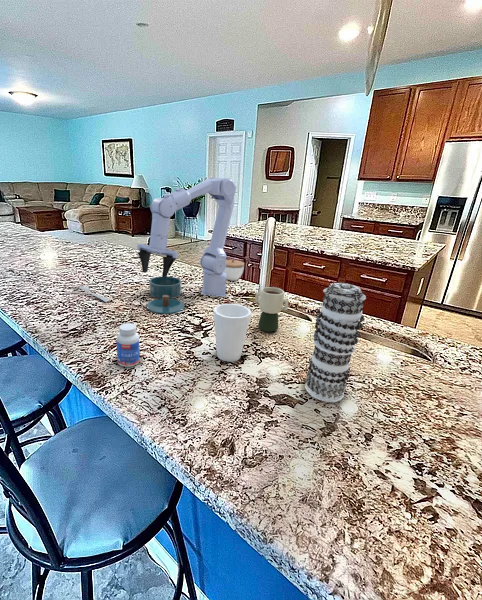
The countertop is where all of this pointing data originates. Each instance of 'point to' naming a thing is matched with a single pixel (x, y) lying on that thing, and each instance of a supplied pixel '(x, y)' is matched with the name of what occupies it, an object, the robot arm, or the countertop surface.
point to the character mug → (270, 307)
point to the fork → (94, 294)
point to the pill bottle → (127, 345)
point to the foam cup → (230, 330)
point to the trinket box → (233, 269)
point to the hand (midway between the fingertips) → (154, 274)
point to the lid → (165, 305)
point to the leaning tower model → (334, 341)
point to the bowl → (165, 287)
